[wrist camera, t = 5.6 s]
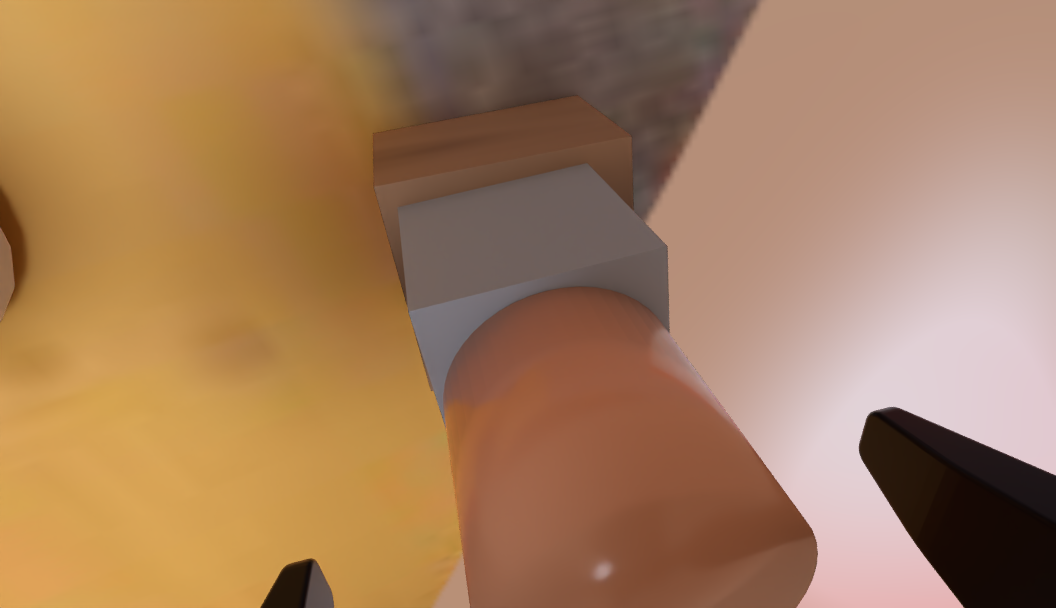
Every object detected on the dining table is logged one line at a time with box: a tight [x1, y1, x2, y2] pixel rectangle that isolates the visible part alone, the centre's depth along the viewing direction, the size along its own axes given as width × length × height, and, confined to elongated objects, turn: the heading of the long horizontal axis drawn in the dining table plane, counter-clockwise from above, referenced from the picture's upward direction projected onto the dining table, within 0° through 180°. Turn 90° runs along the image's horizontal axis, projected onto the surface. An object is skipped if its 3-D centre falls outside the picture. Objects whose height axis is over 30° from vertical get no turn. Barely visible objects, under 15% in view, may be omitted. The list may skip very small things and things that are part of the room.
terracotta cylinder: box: [443, 287, 818, 608], centre depth 9 cm, size 4×4×4 cm
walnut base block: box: [373, 95, 634, 391], centre depth 17 cm, size 6×6×4 cm
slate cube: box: [398, 163, 669, 427], centre depth 13 cm, size 4×4×4 cm
